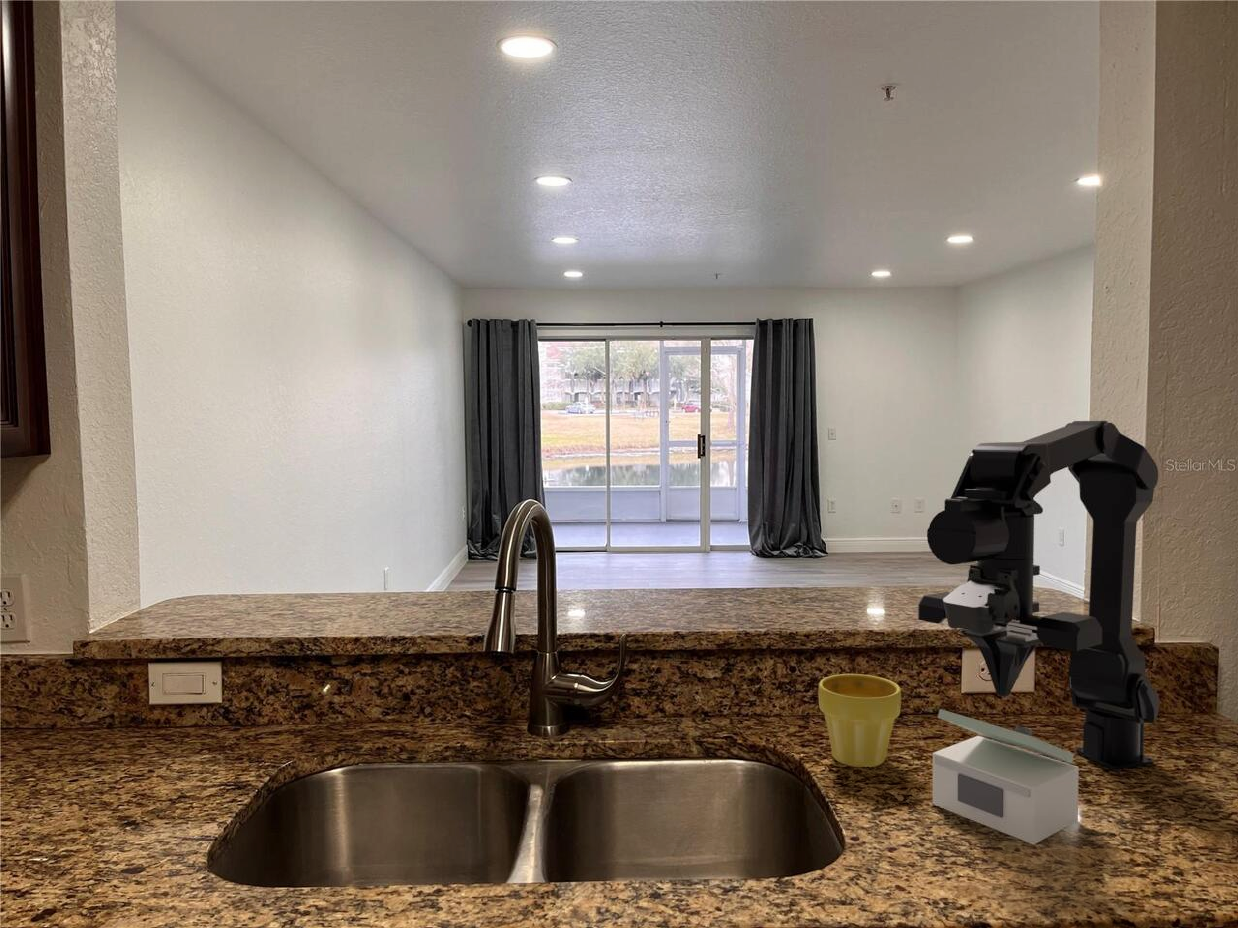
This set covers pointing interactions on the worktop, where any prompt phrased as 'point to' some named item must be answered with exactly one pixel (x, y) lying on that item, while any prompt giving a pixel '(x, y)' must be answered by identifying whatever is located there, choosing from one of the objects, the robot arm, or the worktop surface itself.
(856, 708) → the plant pot
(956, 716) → the lid
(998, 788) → the box
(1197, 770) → the worktop surface
